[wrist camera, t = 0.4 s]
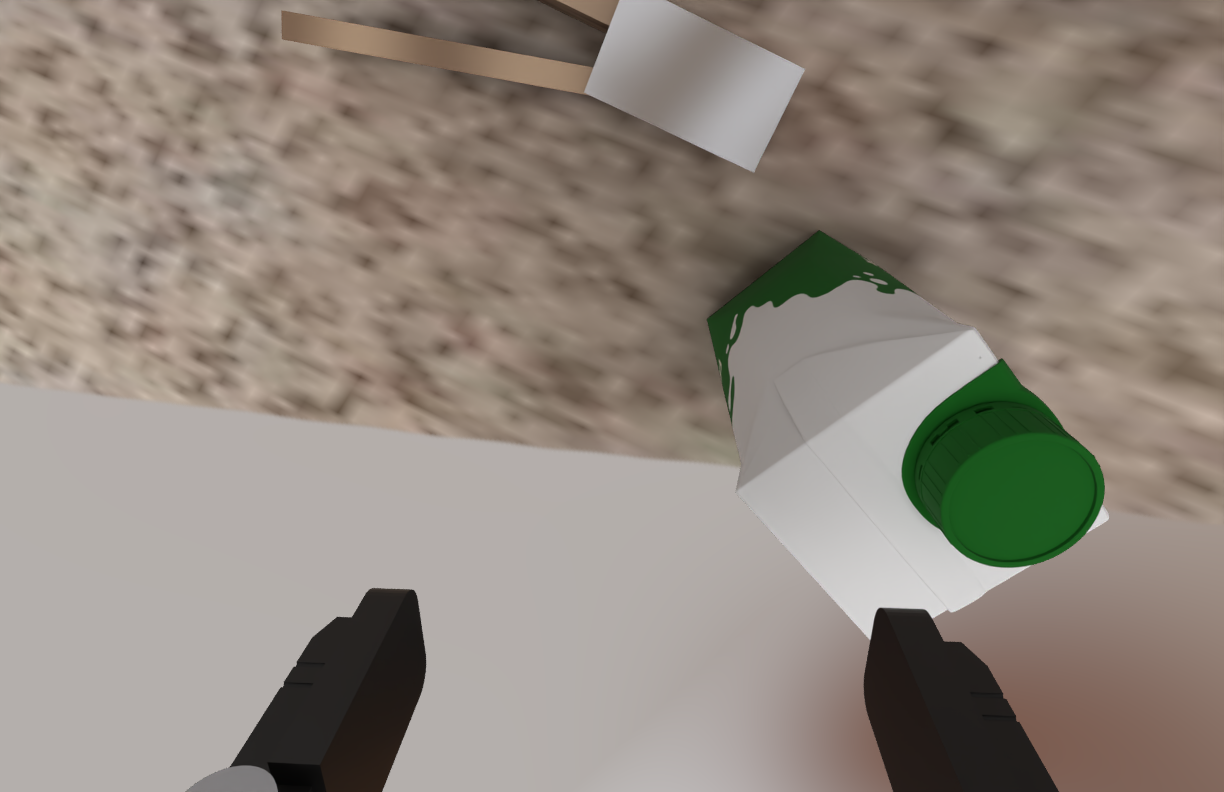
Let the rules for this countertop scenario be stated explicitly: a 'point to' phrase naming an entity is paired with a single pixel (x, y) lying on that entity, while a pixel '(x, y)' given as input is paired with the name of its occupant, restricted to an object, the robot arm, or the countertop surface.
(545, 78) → the tong arm
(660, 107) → the tong frame
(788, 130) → the countertop surface
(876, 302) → the milk carton
